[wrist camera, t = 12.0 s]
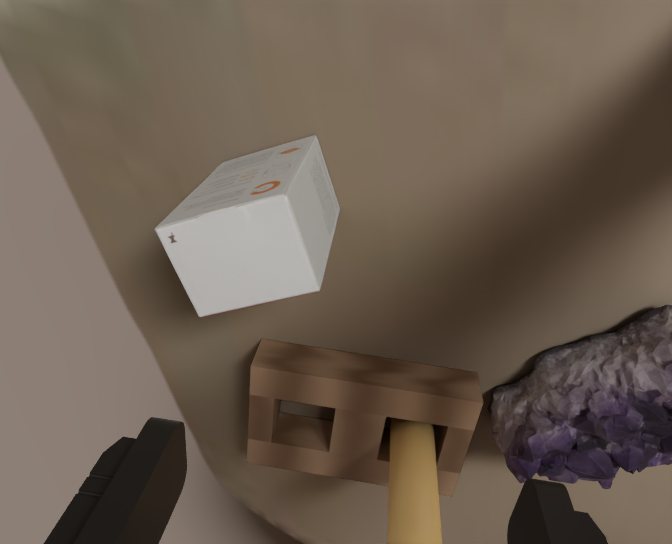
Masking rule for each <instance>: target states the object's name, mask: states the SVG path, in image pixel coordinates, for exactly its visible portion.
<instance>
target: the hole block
mask: <svg viewBox="0 0 672 544" xmlns="http://www.w3.org/2000/svg"><path fill="white" fill-rule="evenodd" d="M281 400H287V401H293V402H299V403H305V404H311V405H318V406H324V407H330V408H336V410H335V416H334V421H330V420H324V419H318V418H312V417H305V416H299V415H293V414H287V413H281V412H280V404H281ZM482 406H483V398H482V394H481V389H480V384H479V379H478V375H477V372H471V371H464V370H458V369H452V368H445V367H439V366H432V365H426V364H420V363H413V362H407V361H401V360H394V359H388V358H381V357H375V356H369V355H362V354H356V353H349V352H343V351H337V350H330V349H324V348H317V347H311V346H305V345H298V344H292V343H286V342H279V341H273V340H266V339H261V341H260V344H259V346H258V349H257V351H256V354H255V356H254V359H253V361H252V364H251V371H250V396H249V420H248V444H247V463H252V464H258V465H264V466H270V467H276V468H282V469H288V470H294V471H300V472H306V473H312V474H318V475H324V476H330V477H336V478H342V479H348V480H354V481H360V482H366V483H372V484H378V485H384V486H389V464H390V430H386V429H384V424H385V420H386V417H392V418H398V419H405V420H411V421H417V422H423V423H429V424H436V429H435V432H434V439H435V452H436V466H437V480H438V493H439V495H444V496H450V497H452V496H453V493H454V490H455V487H456V484H457V481H458V478H459V475H460V472H461V469H462V466H463V463H464V460H465V457H466V454H467V451H468V448H469V445H470V442H471V439H472V436H473V433H474V430H475V427H476V424H477V421H478V418H479V415H480V412H481V409H482Z"/></svg>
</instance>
